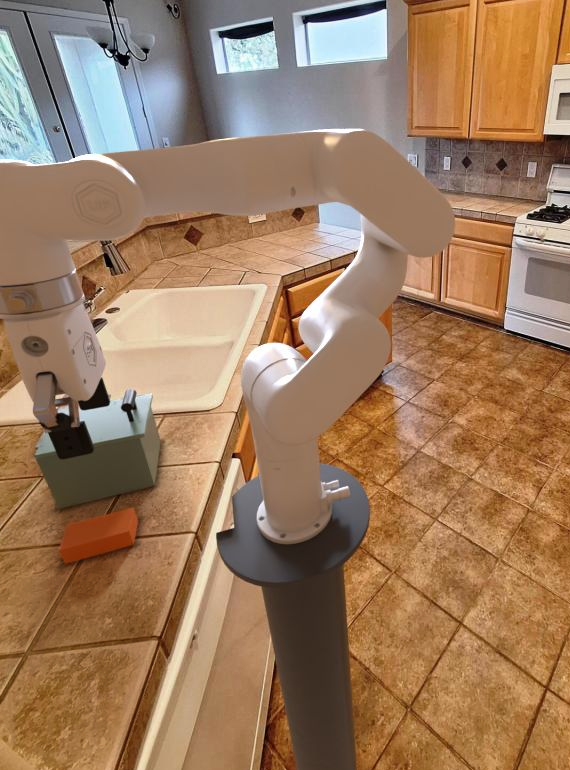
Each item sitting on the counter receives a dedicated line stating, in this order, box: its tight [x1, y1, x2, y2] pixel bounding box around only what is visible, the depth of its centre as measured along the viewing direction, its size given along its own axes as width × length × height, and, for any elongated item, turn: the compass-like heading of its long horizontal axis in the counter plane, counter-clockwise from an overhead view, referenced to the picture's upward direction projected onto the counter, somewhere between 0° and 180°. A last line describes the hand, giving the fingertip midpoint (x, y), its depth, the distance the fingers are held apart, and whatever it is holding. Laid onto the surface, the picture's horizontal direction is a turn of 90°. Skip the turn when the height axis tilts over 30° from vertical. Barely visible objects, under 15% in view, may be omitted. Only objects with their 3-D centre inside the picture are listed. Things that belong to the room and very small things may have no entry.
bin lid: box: [34, 388, 154, 460], centre depth 75 cm, size 15×14×5 cm
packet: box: [58, 507, 139, 565], centre depth 67 cm, size 9×5×3 cm, turn 112°
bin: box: [35, 407, 162, 510], centre depth 79 cm, size 15×14×11 cm
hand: (87, 429), depth 51 cm, fingers open, 9 cm apart
